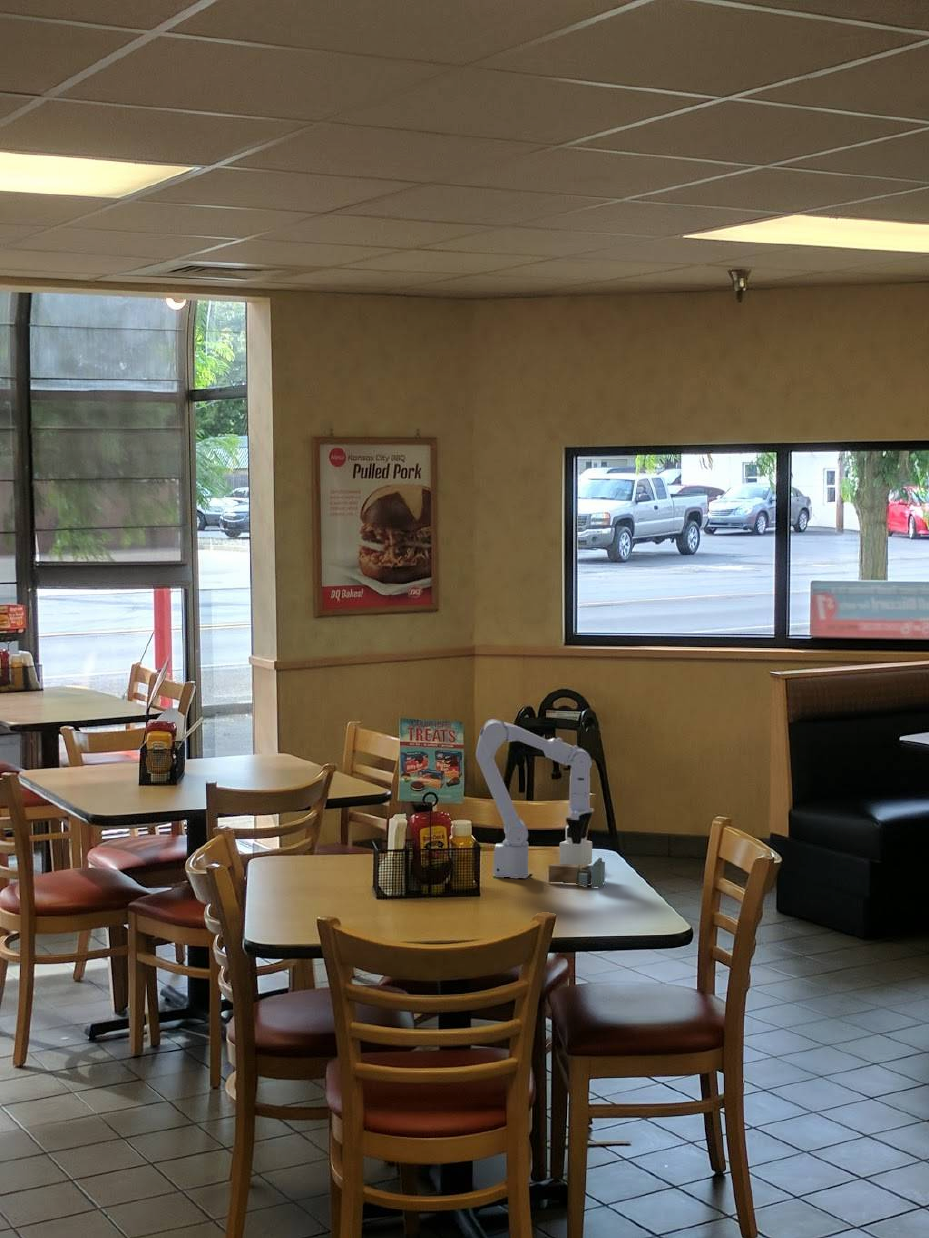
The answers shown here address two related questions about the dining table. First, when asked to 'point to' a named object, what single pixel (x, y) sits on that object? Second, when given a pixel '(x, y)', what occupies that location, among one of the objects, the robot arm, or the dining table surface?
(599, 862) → the grey boxy pieces
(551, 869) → the rail
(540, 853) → the dining table surface
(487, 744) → the robot arm
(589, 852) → the medicine bottle
